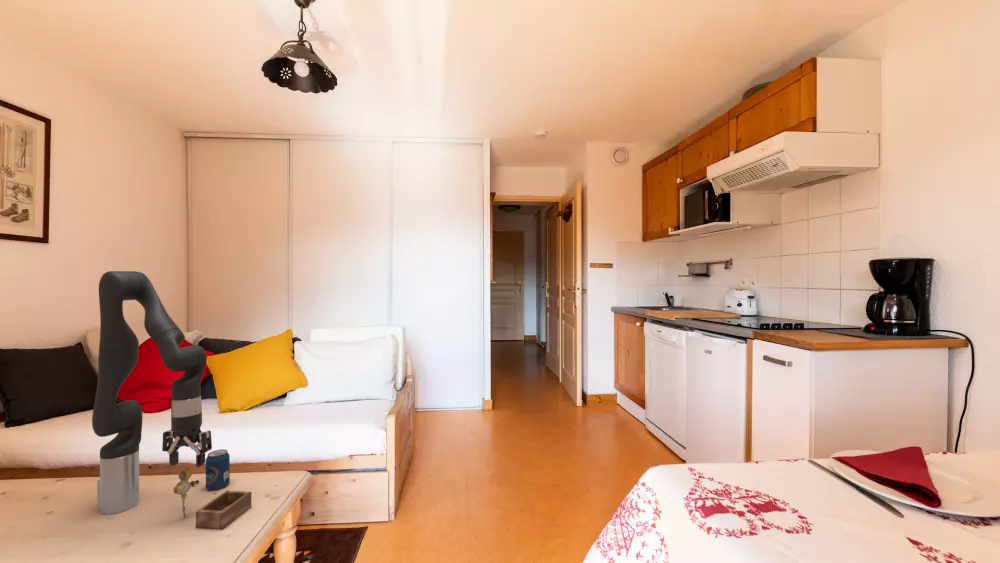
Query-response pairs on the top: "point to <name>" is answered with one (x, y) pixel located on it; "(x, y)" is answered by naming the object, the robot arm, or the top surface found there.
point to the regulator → (184, 485)
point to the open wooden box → (223, 510)
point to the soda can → (217, 470)
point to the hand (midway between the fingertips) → (187, 465)
